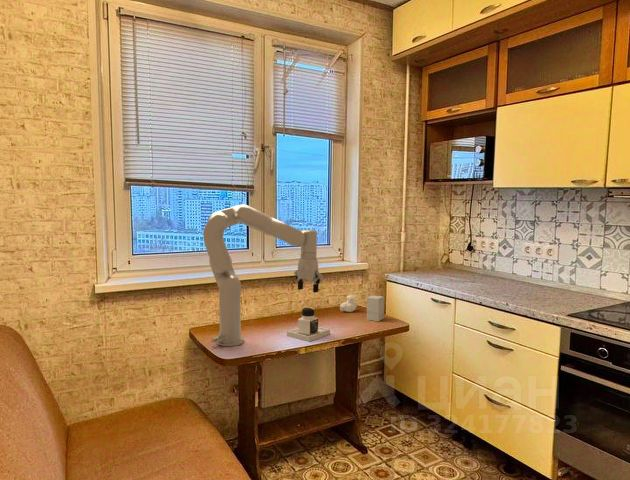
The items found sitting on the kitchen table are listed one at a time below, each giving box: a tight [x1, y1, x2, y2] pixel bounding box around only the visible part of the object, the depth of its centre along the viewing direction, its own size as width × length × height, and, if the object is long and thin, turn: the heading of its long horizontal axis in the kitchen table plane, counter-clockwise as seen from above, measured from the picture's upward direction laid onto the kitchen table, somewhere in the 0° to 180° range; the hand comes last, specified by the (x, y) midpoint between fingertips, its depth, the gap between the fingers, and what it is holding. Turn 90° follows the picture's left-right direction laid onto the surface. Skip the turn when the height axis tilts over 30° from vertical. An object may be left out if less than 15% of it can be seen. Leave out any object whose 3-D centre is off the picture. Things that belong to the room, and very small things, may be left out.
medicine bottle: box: [297, 307, 319, 335], centre depth 211 cm, size 7×7×12 cm
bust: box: [339, 294, 358, 313], centre depth 256 cm, size 12×8×11 cm
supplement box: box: [366, 294, 385, 322], centre depth 239 cm, size 7×7×13 cm
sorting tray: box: [286, 326, 331, 342], centre depth 211 cm, size 16×14×2 cm
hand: (307, 290), depth 209 cm, fingers open, 9 cm apart
